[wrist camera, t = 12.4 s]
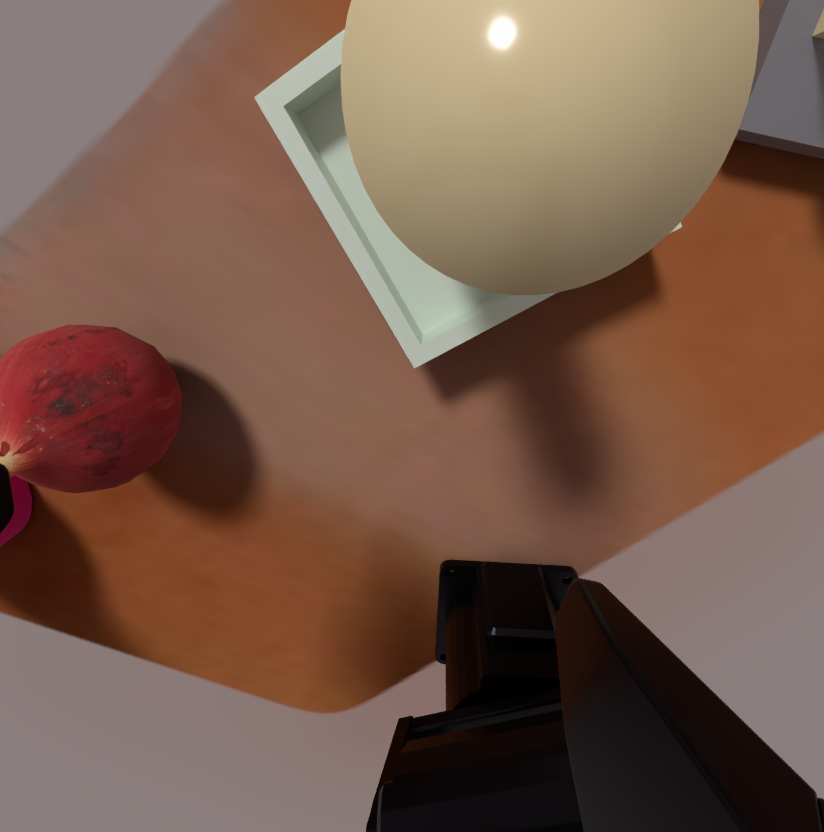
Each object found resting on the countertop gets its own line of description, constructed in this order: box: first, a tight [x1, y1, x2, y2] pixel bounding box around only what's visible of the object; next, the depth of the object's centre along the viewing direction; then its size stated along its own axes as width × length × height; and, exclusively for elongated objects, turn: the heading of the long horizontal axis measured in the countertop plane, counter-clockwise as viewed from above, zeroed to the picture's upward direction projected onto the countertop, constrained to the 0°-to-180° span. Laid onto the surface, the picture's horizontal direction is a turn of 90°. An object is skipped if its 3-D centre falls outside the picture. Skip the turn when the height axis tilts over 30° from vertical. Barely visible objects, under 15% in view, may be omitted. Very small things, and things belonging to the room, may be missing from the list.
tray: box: [254, 29, 682, 368], centre depth 16 cm, size 9×9×3 cm
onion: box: [0, 325, 182, 493], centre depth 17 cm, size 6×6×8 cm
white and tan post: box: [341, 0, 759, 295], centre depth 10 cm, size 4×4×12 cm
